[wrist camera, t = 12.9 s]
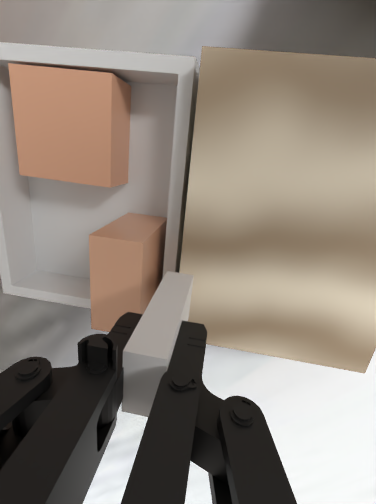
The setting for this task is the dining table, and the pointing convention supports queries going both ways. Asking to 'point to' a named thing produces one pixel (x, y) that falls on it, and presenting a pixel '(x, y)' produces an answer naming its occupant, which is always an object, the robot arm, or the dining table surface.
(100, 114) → the tile
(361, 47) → the dining table surface
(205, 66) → the board
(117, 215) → the box
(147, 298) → the tile
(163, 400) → the robot arm
